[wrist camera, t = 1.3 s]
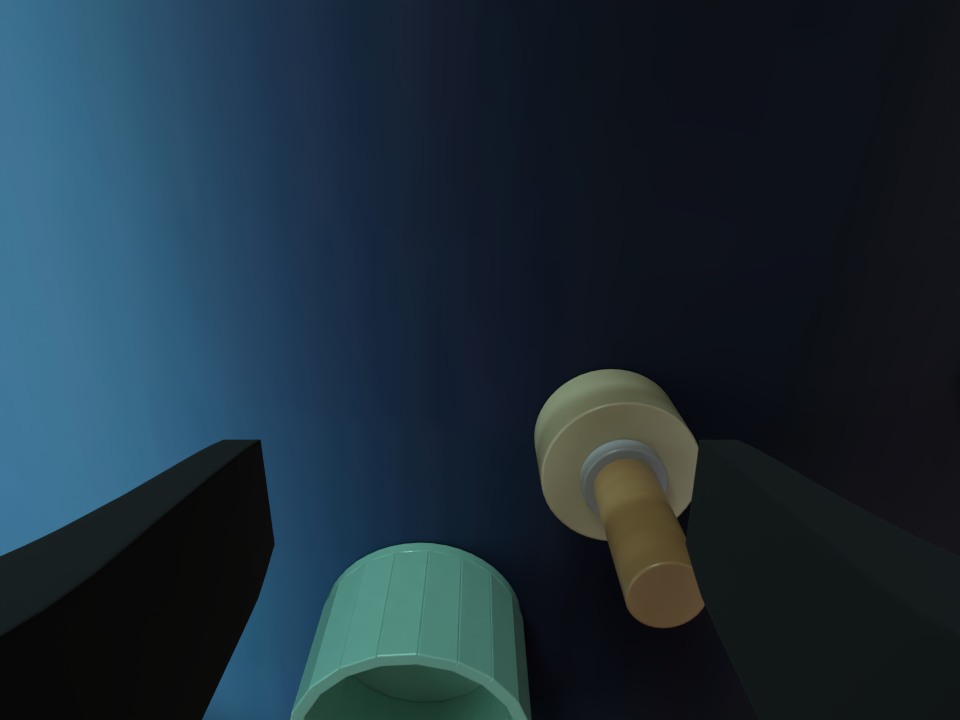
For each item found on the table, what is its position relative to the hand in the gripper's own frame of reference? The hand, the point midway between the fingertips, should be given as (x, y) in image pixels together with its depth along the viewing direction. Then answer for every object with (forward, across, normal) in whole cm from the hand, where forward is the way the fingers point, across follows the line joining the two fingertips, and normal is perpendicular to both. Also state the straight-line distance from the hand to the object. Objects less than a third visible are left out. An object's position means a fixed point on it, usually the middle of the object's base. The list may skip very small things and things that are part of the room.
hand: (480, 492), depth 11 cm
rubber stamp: (+10, -4, +4) cm, 11 cm away
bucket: (+10, +2, +12) cm, 15 cm away
